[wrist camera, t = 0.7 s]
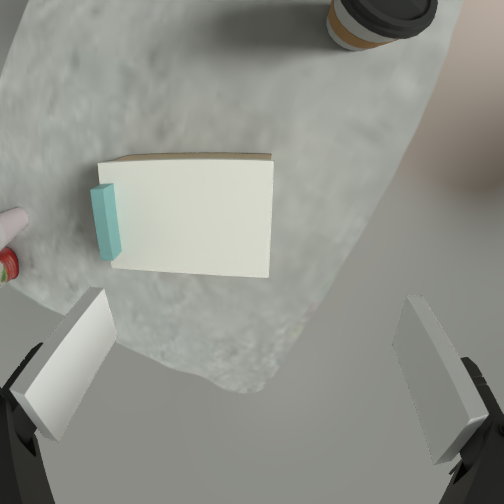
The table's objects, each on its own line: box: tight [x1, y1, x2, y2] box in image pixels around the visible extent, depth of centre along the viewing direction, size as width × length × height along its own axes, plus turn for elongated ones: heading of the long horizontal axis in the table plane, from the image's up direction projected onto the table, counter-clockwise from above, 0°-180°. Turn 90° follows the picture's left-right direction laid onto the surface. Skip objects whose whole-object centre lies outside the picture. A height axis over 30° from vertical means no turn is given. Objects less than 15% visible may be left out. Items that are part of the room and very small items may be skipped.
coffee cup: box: [326, 0, 438, 51], centre depth 22 cm, size 8×8×15 cm
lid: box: [90, 158, 274, 278], centre depth 32 cm, size 13×19×3 cm
